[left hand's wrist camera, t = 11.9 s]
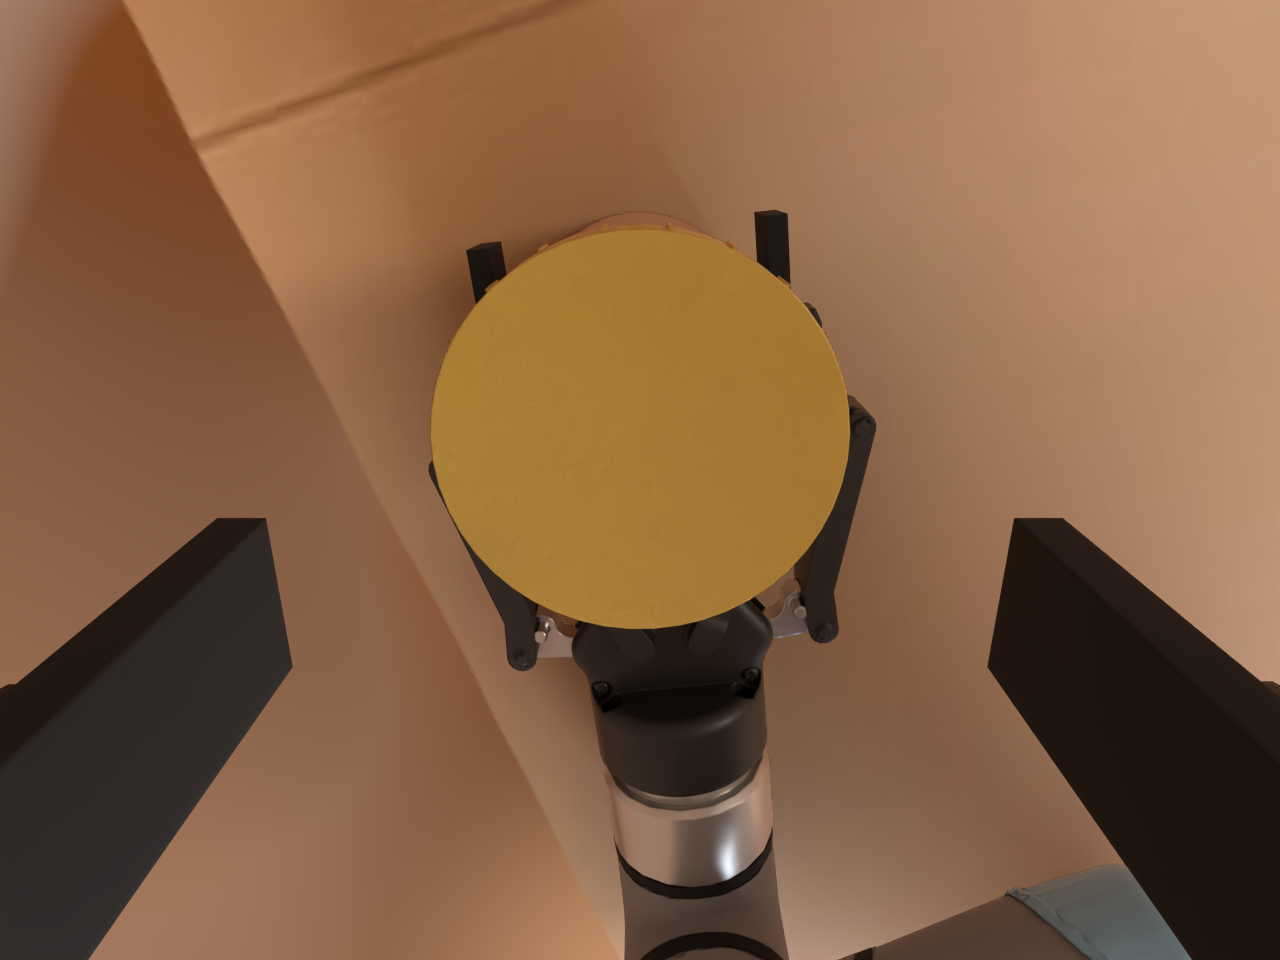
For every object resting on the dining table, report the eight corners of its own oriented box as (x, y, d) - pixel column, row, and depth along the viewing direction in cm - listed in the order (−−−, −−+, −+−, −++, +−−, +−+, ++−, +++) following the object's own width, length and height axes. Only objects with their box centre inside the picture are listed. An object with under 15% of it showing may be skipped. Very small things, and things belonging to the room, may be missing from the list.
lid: (864, 234, 20) (886, 240, 18) (807, 605, 24) (821, 641, 22) (441, 207, 20) (420, 211, 18) (450, 586, 23) (434, 621, 22)
